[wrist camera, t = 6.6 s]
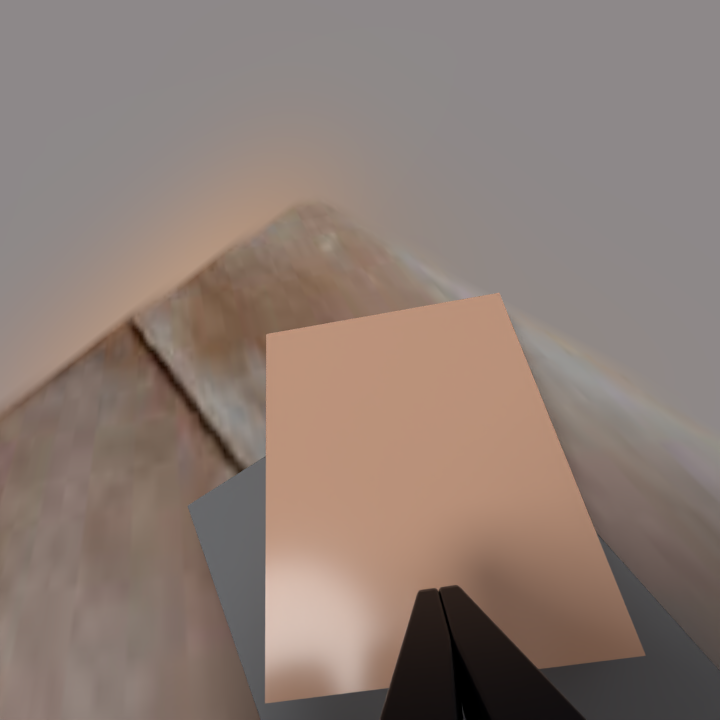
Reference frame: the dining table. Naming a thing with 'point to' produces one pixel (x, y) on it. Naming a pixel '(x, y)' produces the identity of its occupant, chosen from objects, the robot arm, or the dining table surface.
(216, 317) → the dining table surface
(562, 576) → the block
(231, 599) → the mat
